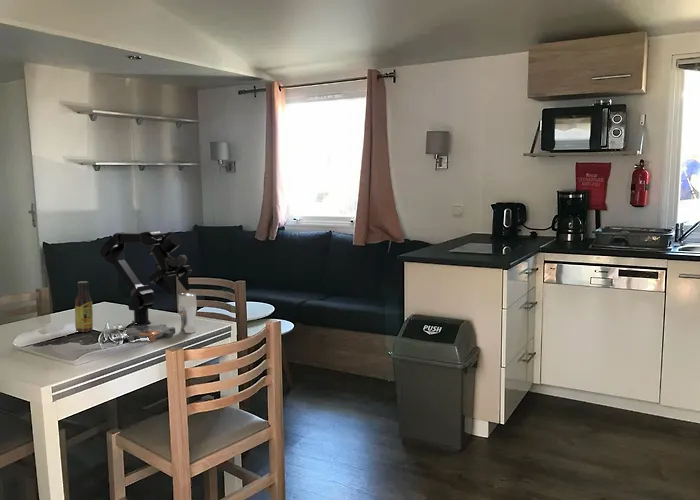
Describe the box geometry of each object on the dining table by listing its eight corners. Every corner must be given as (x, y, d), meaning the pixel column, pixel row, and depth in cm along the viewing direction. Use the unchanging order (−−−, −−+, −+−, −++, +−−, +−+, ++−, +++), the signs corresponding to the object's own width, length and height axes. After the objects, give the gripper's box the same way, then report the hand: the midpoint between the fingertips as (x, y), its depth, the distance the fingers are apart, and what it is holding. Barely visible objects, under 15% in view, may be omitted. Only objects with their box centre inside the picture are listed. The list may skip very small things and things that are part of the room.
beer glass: (200, 330, 228) (199, 293, 227) (190, 334, 222) (189, 296, 220) (185, 328, 231) (184, 292, 229) (175, 332, 224) (174, 295, 222)
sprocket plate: (117, 332, 224) (116, 327, 224) (169, 326, 233) (169, 321, 233) (124, 345, 206) (123, 339, 206) (180, 338, 216) (180, 332, 216)
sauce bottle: (86, 334, 222) (83, 283, 219) (72, 333, 223) (69, 283, 221) (97, 329, 228) (94, 280, 226) (83, 329, 229) (80, 280, 227)
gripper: (157, 250, 219) (175, 285, 216) (191, 246, 235) (208, 279, 233) (140, 265, 223) (157, 299, 221) (175, 259, 240) (191, 292, 237)
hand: (180, 292), depth 228 cm, fingers open, 9 cm apart
